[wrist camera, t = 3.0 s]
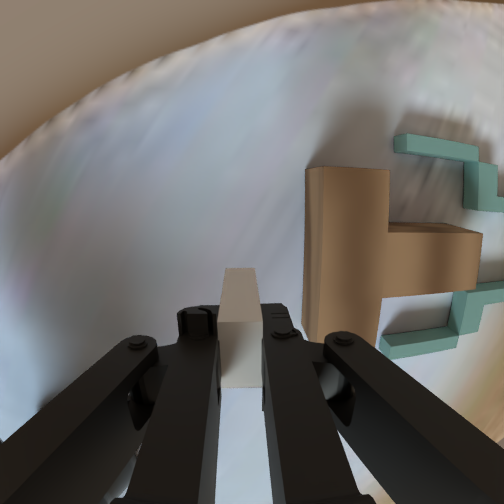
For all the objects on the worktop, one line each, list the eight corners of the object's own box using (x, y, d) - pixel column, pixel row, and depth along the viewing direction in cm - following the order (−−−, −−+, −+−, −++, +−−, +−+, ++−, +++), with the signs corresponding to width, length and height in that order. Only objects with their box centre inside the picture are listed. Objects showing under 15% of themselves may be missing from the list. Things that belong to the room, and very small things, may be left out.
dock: (378, 348, 31) (388, 360, 28) (393, 136, 26) (406, 133, 24) (511, 323, 32) (522, 330, 29) (530, 163, 27) (543, 164, 25)
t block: (301, 323, 30) (315, 355, 24) (305, 169, 27) (323, 166, 21) (434, 311, 30) (465, 334, 24) (447, 179, 27) (485, 181, 21)
